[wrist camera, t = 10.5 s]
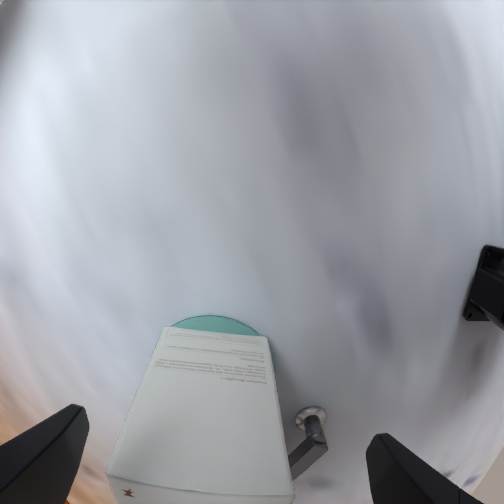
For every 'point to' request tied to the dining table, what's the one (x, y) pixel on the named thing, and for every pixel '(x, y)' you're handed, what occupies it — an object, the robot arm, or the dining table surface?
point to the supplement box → (204, 425)
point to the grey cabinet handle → (308, 440)
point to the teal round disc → (218, 326)
